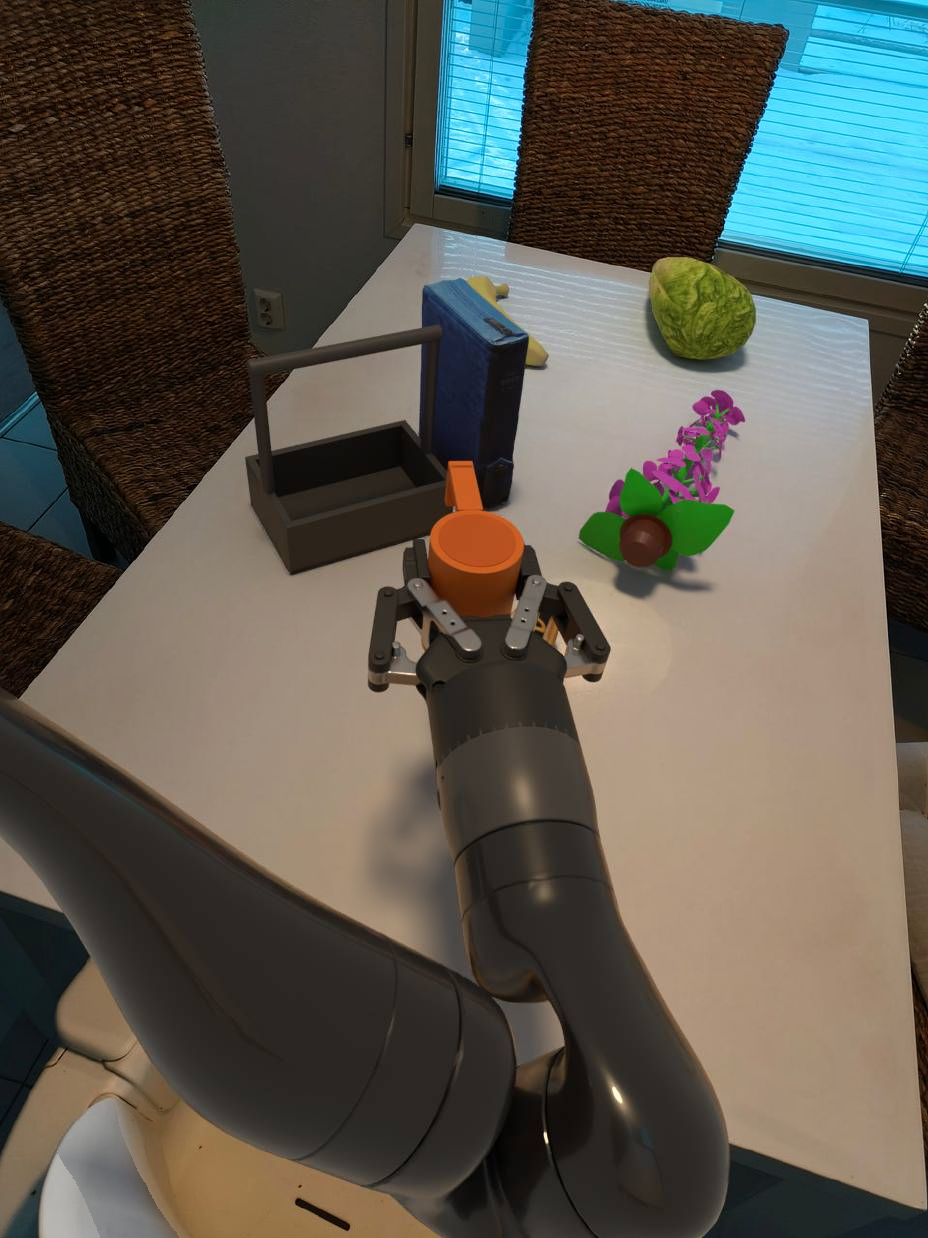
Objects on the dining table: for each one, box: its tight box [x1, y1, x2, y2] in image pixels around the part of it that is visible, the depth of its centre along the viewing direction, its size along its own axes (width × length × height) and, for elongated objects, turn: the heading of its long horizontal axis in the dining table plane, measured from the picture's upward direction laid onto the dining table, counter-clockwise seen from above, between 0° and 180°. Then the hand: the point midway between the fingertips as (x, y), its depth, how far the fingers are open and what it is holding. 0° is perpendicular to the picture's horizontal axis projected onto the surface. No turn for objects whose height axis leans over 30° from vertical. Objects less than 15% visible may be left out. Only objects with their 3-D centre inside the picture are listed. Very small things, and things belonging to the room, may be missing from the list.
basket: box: [244, 325, 454, 576], centre depth 81 cm, size 18×12×20 cm, turn 119°
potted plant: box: [578, 389, 746, 572], centre depth 92 cm, size 12×16×35 cm
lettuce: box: [648, 256, 757, 361], centre depth 119 cm, size 12×24×13 cm
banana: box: [465, 275, 550, 367], centre depth 117 cm, size 14×6×20 cm
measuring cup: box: [420, 461, 525, 652], centre depth 55 cm, size 10×6×9 cm, turn 8°
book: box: [418, 277, 530, 508], centre depth 88 cm, size 14×5×20 cm, turn 31°
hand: (466, 548), depth 54 cm, fingers closed on measuring cup, 5 cm apart
